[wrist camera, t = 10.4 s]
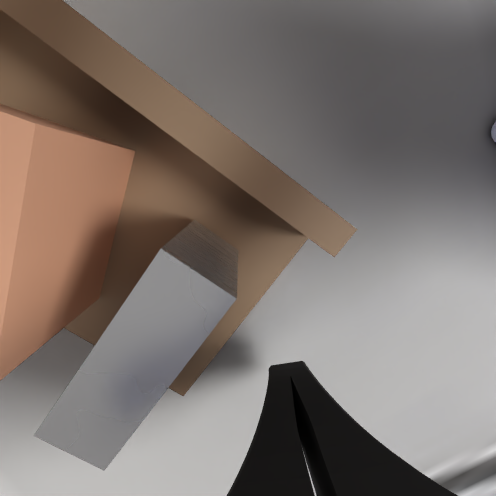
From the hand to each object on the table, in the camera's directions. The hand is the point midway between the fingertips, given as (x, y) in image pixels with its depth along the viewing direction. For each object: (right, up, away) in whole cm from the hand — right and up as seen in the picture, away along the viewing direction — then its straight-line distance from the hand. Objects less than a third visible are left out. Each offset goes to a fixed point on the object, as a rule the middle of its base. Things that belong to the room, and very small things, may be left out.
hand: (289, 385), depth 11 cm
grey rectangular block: (-5, +3, 0) cm, 6 cm away
